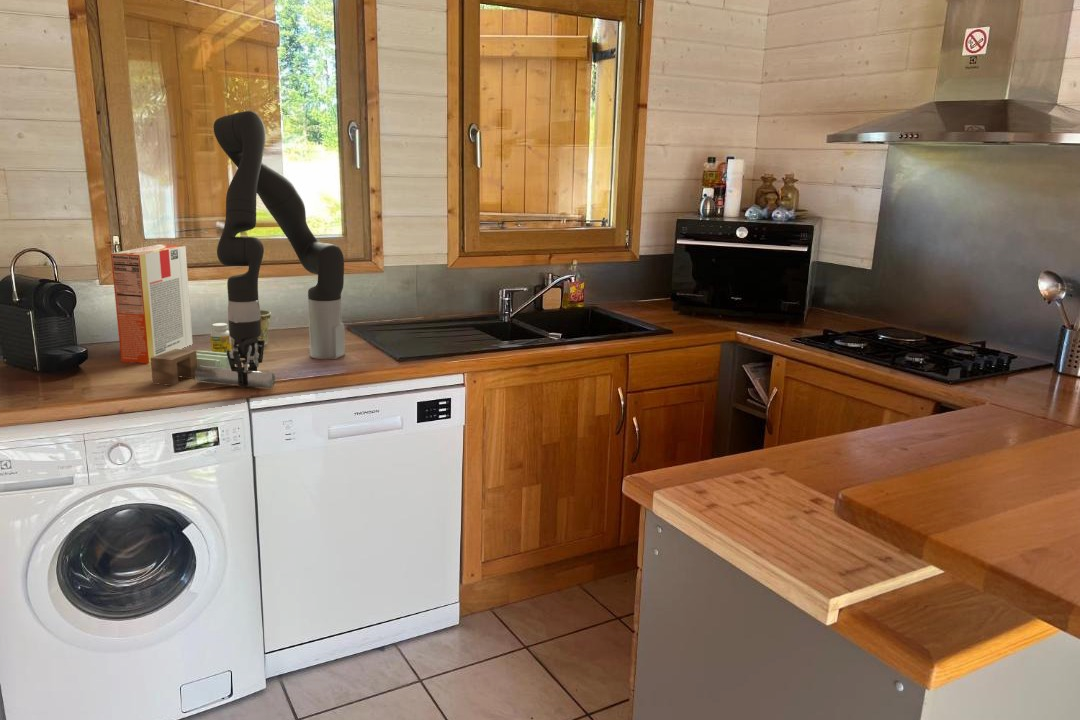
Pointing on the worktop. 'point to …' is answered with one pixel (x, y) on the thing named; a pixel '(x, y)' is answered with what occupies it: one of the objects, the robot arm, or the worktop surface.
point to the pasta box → (151, 301)
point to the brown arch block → (173, 366)
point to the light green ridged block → (212, 359)
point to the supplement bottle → (220, 338)
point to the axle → (234, 376)
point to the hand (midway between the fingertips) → (248, 383)
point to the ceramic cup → (264, 325)
